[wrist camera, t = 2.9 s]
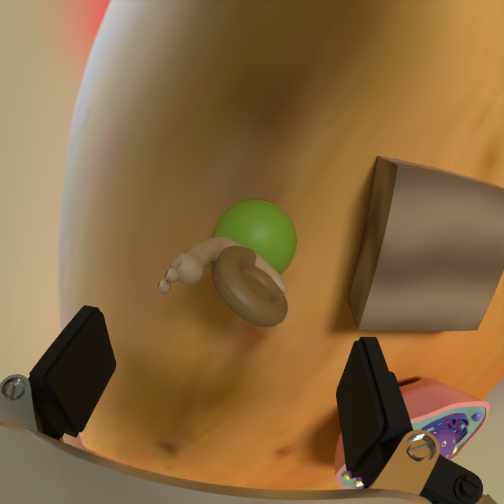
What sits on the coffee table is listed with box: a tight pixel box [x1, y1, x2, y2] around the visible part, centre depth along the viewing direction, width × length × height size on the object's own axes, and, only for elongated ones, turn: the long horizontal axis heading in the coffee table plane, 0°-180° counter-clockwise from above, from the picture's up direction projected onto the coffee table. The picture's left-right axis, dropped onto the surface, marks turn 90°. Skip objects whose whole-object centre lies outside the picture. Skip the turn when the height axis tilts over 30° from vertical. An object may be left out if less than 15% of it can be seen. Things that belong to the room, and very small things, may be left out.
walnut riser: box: [348, 156, 504, 332], centre depth 20 cm, size 12×12×4 cm
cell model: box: [335, 378, 490, 489], centre depth 26 cm, size 17×20×11 cm
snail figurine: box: [158, 199, 297, 327], centre depth 17 cm, size 5×6×12 cm
